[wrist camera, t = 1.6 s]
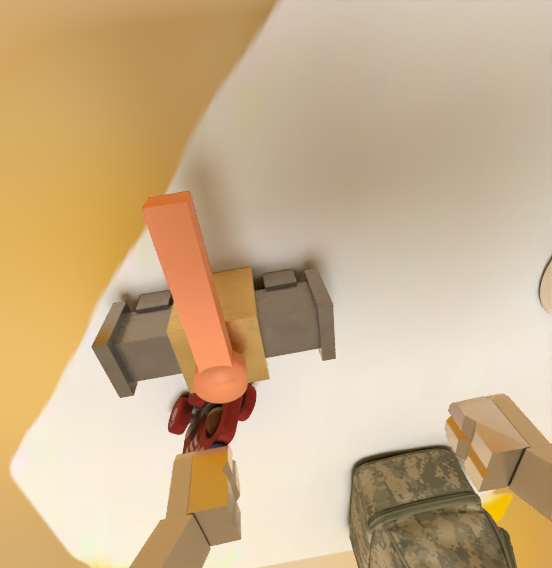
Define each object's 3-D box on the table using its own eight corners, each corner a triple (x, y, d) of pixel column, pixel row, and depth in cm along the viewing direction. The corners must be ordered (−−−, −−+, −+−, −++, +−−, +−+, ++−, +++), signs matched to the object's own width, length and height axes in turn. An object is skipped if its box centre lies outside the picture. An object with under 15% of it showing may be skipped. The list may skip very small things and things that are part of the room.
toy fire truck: (264, 370, 41) (273, 452, 32) (214, 431, 45) (210, 517, 37) (211, 349, 38) (206, 432, 29) (164, 416, 43) (147, 505, 34)
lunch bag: (433, 519, 67) (512, 689, 48) (343, 534, 66) (387, 715, 47) (465, 437, 53) (591, 631, 35) (350, 454, 52) (418, 665, 33)
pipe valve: (312, 256, 33) (336, 308, 26) (317, 313, 37) (339, 373, 30) (115, 290, 33) (82, 353, 25) (140, 344, 36) (117, 414, 29)
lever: (250, 378, 28) (251, 398, 27) (202, 387, 28) (200, 407, 27) (203, 188, 20) (201, 198, 18) (135, 199, 20) (126, 211, 18)
